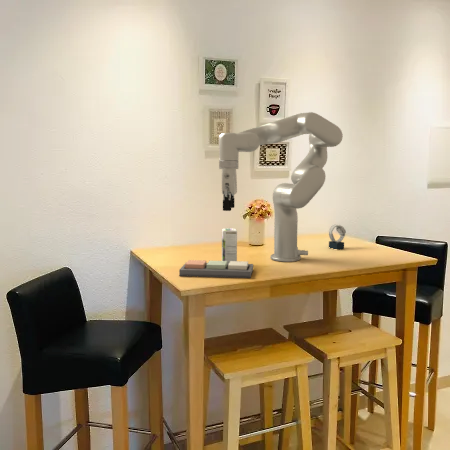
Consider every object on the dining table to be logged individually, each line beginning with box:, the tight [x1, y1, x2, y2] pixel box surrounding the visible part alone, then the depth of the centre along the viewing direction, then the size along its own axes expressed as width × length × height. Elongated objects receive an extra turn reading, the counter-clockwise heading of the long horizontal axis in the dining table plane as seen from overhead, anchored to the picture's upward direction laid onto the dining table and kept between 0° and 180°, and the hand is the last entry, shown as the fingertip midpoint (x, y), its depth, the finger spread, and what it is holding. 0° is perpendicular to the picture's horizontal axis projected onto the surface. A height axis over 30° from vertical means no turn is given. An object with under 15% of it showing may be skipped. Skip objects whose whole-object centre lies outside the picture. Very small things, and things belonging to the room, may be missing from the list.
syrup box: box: [221, 227, 238, 263], centre depth 197 cm, size 6×6×14 cm
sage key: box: [206, 260, 227, 269], centre depth 185 cm, size 7×7×2 cm
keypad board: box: [178, 261, 254, 279], centre depth 185 cm, size 26×12×2 cm, turn 82°
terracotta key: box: [184, 259, 207, 269], centre depth 186 cm, size 7×7×2 cm
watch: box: [328, 224, 347, 250], centre depth 228 cm, size 6×8×11 cm
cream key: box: [228, 260, 249, 270], centre depth 184 cm, size 7×7×2 cm
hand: (228, 209), depth 194 cm, fingers open, 9 cm apart
